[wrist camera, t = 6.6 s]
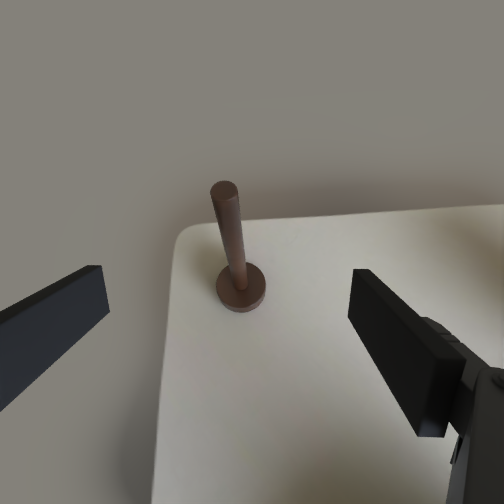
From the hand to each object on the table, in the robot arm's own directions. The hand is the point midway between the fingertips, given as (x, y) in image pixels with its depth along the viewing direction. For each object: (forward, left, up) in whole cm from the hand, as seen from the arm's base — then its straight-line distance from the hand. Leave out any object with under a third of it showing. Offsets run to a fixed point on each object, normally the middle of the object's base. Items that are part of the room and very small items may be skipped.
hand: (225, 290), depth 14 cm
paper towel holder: (+1, +4, -12) cm, 13 cm away
